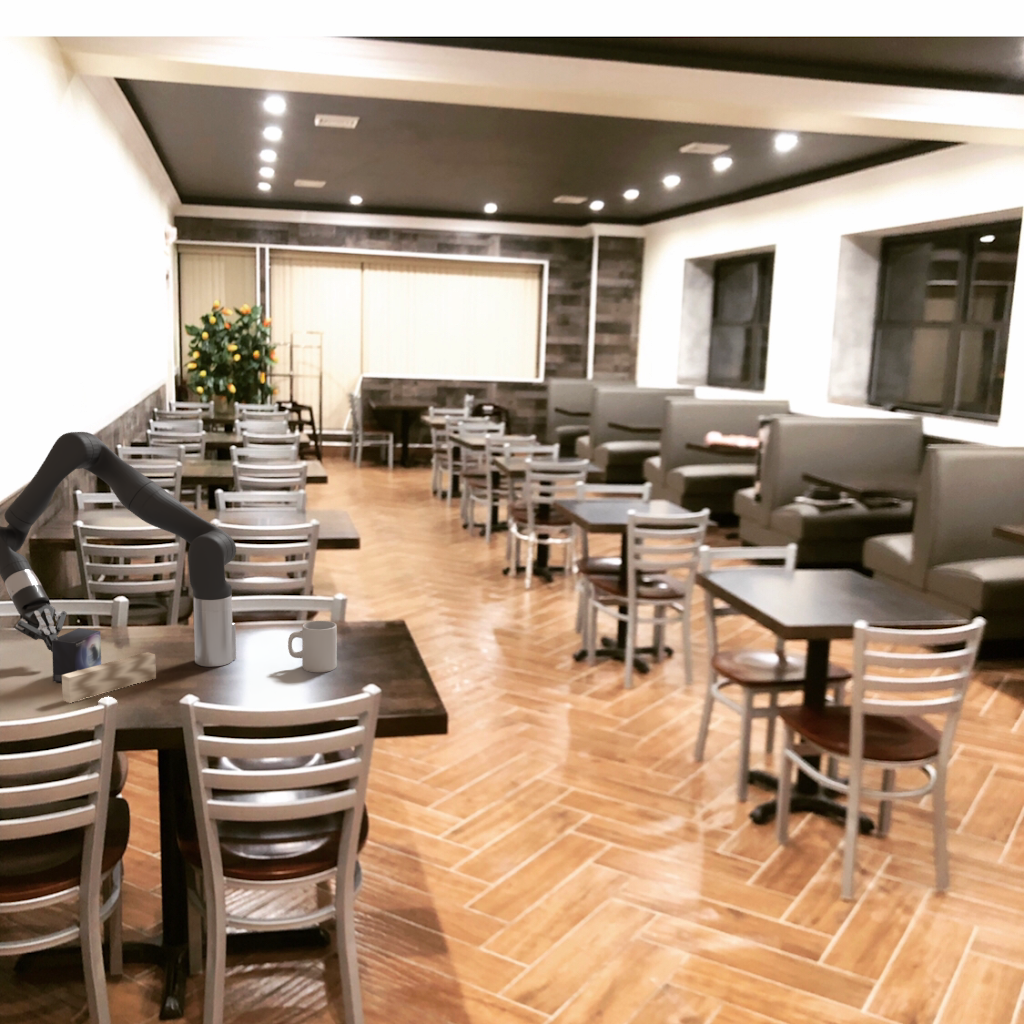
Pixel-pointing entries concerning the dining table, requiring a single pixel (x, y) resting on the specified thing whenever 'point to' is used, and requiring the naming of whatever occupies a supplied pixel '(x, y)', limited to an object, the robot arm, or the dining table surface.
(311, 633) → the mug
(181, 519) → the robot arm
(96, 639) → the small box
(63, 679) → the maple board
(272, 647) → the dining table surface
